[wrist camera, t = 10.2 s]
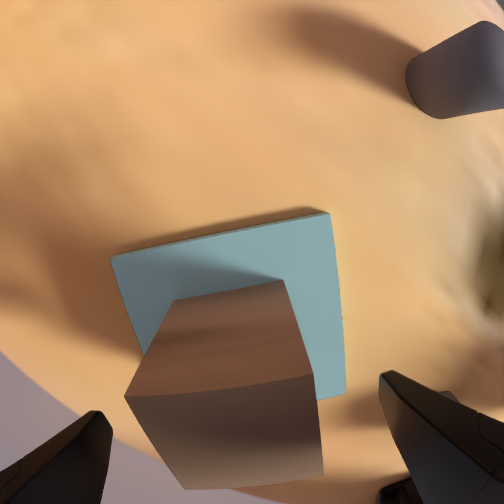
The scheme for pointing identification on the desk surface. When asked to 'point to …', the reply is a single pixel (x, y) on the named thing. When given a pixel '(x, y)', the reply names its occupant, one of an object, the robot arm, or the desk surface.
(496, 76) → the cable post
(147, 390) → the walnut block
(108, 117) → the desk surface
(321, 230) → the pale teal mat
